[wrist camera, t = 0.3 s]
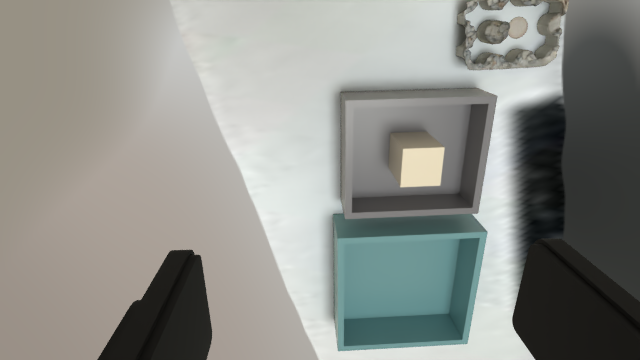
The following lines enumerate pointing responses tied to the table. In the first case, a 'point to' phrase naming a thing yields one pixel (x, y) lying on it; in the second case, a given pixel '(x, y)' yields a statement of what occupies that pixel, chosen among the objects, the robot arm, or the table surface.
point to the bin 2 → (405, 280)
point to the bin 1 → (414, 116)
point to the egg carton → (512, 35)
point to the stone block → (415, 159)
